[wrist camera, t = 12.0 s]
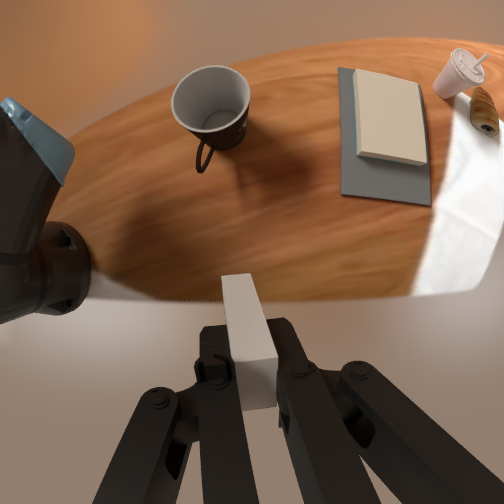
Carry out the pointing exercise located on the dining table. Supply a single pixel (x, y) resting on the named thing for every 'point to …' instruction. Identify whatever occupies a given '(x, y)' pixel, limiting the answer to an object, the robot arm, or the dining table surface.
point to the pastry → (484, 112)
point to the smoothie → (459, 74)
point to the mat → (377, 160)
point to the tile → (388, 118)
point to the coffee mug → (212, 108)
